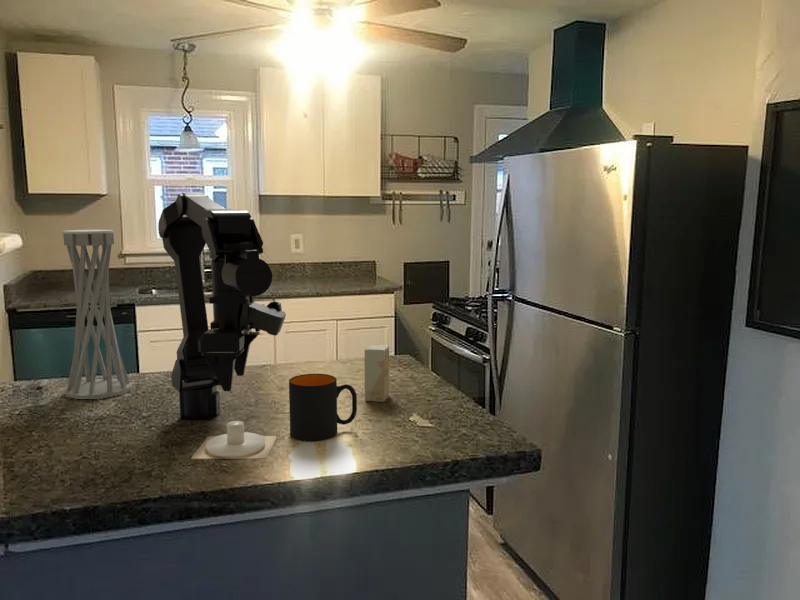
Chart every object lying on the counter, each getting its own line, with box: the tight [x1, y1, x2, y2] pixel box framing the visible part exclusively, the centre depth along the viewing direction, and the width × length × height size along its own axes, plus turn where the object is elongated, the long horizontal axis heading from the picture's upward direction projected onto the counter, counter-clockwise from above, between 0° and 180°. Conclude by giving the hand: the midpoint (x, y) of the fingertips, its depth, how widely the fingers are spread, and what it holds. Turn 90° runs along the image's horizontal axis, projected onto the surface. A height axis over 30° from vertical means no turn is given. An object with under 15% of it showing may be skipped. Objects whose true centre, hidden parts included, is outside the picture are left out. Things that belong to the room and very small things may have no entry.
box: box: [364, 344, 390, 403], centre depth 137 cm, size 5×4×11 cm
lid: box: [206, 420, 265, 458], centre depth 108 cm, size 10×10×4 cm
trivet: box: [190, 435, 278, 460], centre depth 108 cm, size 12×10×1 cm
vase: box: [62, 229, 133, 400], centre depth 140 cm, size 14×13×35 cm
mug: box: [288, 373, 358, 443], centre depth 115 cm, size 8×12×10 cm
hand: (234, 382), depth 107 cm, fingers open, 9 cm apart
